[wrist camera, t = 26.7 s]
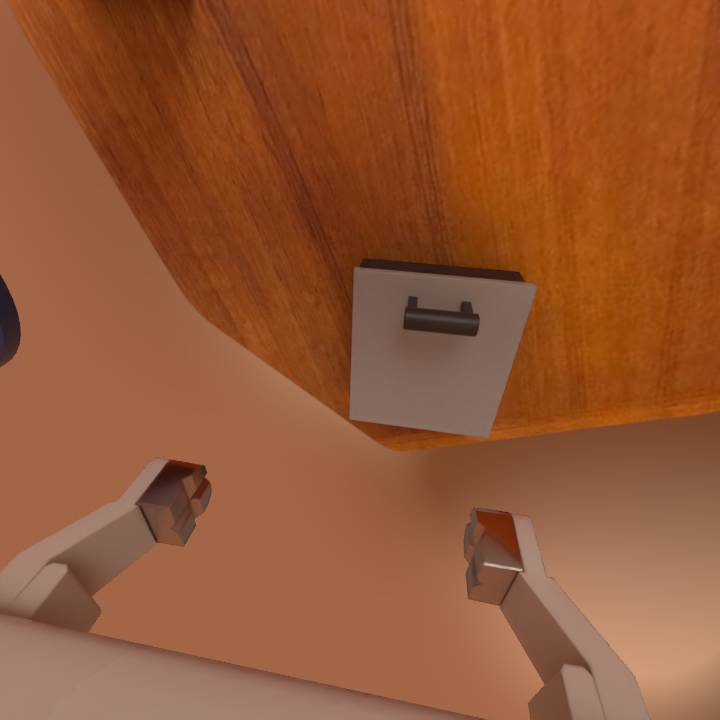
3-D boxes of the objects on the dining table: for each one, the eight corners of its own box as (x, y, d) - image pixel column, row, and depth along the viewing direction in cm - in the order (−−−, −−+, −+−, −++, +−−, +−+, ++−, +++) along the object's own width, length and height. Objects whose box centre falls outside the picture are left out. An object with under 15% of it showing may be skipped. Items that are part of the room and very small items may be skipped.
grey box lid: (355, 266, 28) (343, 289, 24) (535, 282, 27) (554, 310, 23) (350, 415, 36) (341, 449, 32) (487, 433, 35) (495, 472, 31)
